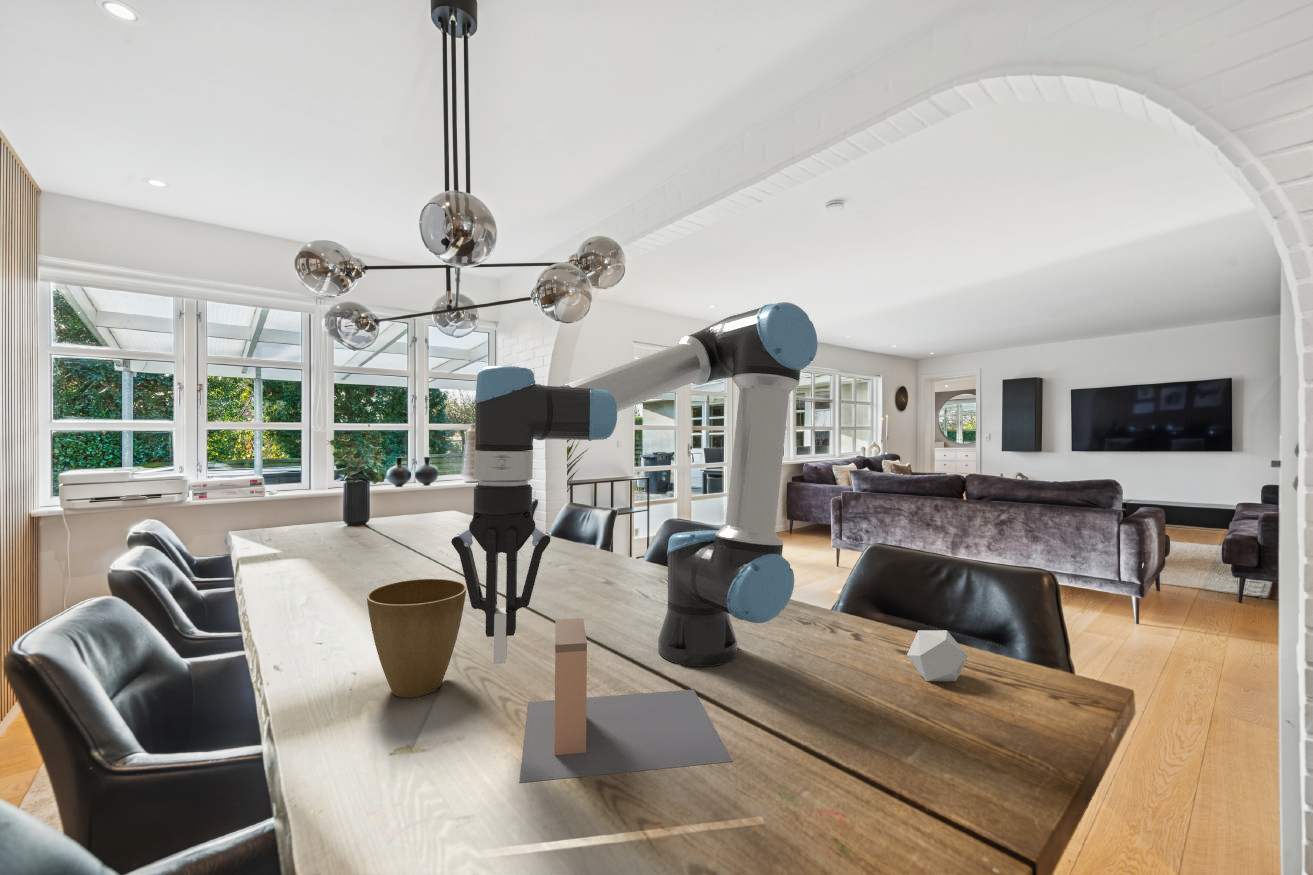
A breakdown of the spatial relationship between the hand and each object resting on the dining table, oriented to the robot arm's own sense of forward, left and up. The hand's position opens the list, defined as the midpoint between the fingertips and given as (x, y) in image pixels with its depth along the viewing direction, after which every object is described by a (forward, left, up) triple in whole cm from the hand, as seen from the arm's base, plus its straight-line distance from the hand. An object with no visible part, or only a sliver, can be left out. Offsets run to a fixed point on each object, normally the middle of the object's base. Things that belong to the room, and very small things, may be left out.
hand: (500, 659), depth 74 cm
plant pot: (-19, -15, -11) cm, 27 cm away
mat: (0, +16, -11) cm, 20 cm away
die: (-9, +72, -12) cm, 74 cm away
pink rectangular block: (0, +9, -11) cm, 14 cm away
